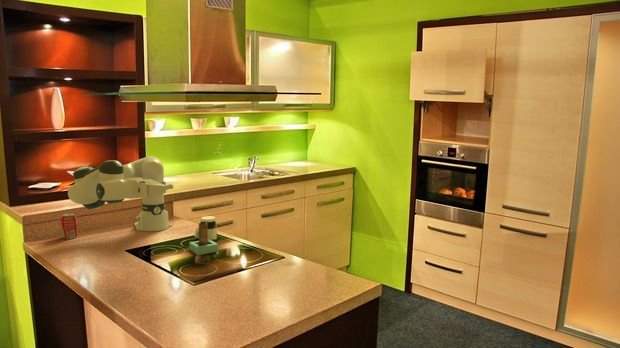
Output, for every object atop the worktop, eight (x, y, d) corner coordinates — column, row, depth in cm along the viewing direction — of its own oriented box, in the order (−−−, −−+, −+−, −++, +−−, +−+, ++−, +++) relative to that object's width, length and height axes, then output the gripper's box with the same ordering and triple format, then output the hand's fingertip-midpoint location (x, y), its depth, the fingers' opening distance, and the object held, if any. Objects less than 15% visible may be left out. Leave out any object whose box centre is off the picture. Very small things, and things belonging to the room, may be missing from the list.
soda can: (70, 235, 254) (68, 212, 252) (81, 236, 251) (79, 213, 249) (59, 238, 247) (57, 215, 245) (70, 240, 245) (68, 216, 243)
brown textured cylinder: (197, 250, 230) (197, 221, 228) (205, 248, 233) (205, 219, 230) (201, 252, 227) (200, 222, 225) (209, 250, 229) (208, 221, 227)
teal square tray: (189, 249, 231) (189, 242, 230) (209, 246, 237) (209, 239, 236) (198, 255, 223) (197, 247, 222) (218, 251, 229) (218, 244, 228)
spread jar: (214, 243, 241) (213, 220, 239) (191, 243, 241) (190, 220, 240) (219, 236, 253) (218, 214, 251) (197, 236, 253) (196, 214, 252)
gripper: (130, 191, 221) (161, 188, 229) (145, 198, 204) (177, 195, 212) (130, 177, 220) (160, 174, 228) (144, 183, 203) (176, 181, 211)
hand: (168, 184), depth 220 cm, fingers open, 8 cm apart
